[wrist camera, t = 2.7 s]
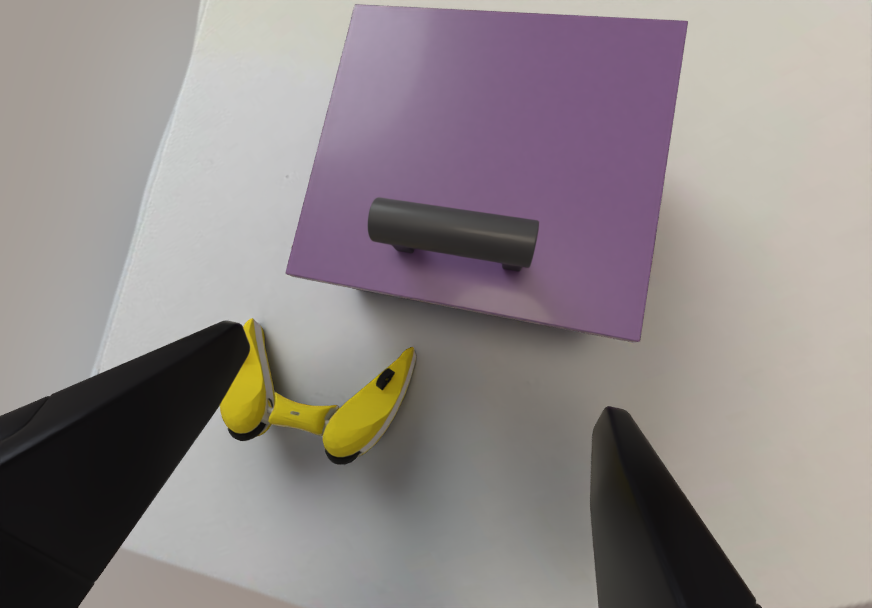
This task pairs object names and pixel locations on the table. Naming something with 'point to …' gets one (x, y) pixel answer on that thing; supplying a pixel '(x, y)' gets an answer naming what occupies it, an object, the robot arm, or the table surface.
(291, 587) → the table surface
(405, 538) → the table surface
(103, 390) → the robot arm
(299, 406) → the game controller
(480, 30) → the lid
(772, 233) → the table surface
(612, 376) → the table surface
